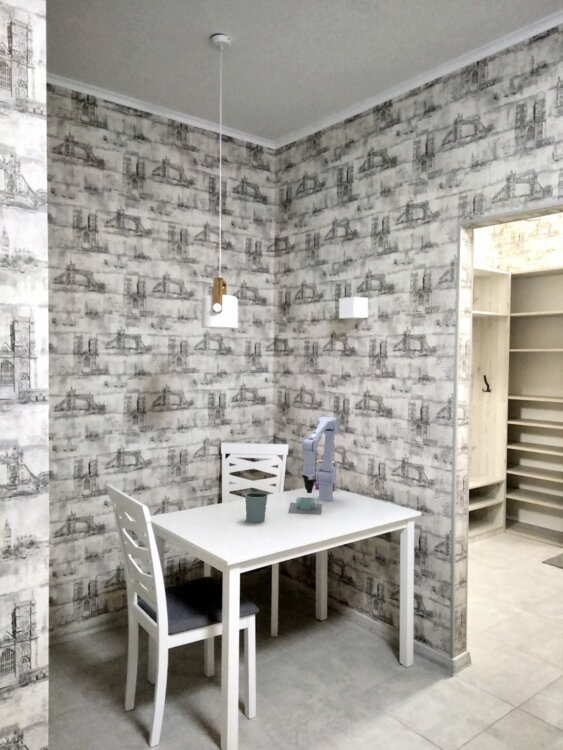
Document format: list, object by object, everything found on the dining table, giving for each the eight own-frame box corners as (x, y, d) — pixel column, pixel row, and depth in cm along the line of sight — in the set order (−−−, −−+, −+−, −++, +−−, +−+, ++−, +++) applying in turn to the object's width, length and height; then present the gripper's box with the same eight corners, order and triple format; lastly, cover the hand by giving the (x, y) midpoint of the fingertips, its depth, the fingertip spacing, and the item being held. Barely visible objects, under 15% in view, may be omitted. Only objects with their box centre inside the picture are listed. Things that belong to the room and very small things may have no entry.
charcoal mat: (290, 503, 297) (290, 502, 297) (321, 504, 296) (321, 503, 296) (287, 514, 278) (287, 513, 278) (321, 515, 276) (321, 514, 276)
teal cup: (240, 520, 267) (240, 494, 266) (256, 515, 274) (256, 490, 273) (255, 524, 260) (255, 498, 259) (271, 520, 267) (271, 494, 266)
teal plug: (296, 509, 285) (296, 499, 285) (296, 506, 289) (296, 497, 289) (319, 510, 284) (319, 499, 284) (319, 507, 288) (319, 497, 288)
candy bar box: (336, 489, 331) (336, 460, 330) (334, 491, 326) (334, 462, 326) (317, 487, 335) (317, 459, 334) (315, 489, 330) (315, 460, 329)
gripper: (299, 461, 292) (298, 487, 292) (302, 466, 277) (301, 494, 278) (313, 461, 292) (312, 487, 293) (317, 466, 278) (316, 494, 278)
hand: (308, 491), depth 285 cm, fingers open, 7 cm apart
